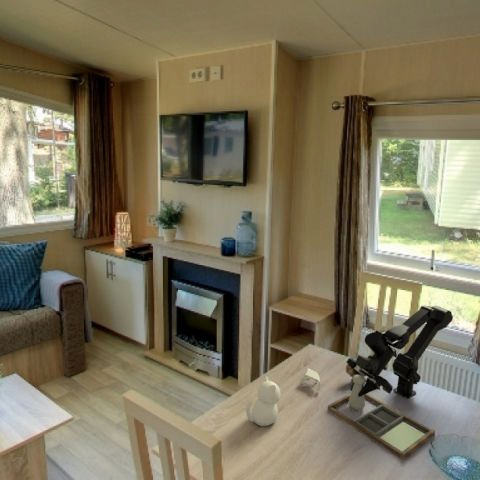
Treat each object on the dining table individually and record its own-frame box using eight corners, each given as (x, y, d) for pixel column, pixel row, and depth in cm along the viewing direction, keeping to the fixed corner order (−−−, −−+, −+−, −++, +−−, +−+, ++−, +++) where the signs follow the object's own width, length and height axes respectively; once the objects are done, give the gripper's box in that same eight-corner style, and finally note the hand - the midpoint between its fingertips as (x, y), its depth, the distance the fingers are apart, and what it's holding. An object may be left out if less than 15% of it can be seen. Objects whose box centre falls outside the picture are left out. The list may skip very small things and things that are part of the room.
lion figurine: (346, 387, 161) (348, 366, 159) (342, 379, 166) (343, 360, 164) (381, 385, 162) (383, 365, 160) (375, 378, 167) (378, 359, 166)
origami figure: (294, 382, 163) (295, 371, 162) (310, 376, 167) (310, 366, 166) (314, 397, 153) (315, 385, 152) (330, 391, 157) (331, 379, 156)
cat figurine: (284, 425, 136) (287, 385, 134) (251, 433, 131) (253, 392, 129) (271, 410, 145) (274, 372, 142) (240, 417, 139) (242, 378, 137)
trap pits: (381, 407, 148) (382, 404, 147) (403, 420, 141) (403, 416, 140) (353, 424, 138) (353, 420, 137) (375, 439, 131) (375, 435, 130)
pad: (402, 422, 139) (403, 421, 139) (426, 436, 133) (426, 435, 133) (379, 438, 131) (379, 437, 131) (403, 453, 125) (403, 452, 124)
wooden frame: (359, 393, 156) (359, 388, 156) (434, 435, 133) (435, 430, 133) (327, 410, 145) (327, 405, 145) (403, 460, 122) (404, 454, 121)
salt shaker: (365, 414, 143) (368, 382, 141) (348, 412, 144) (351, 379, 142) (363, 405, 149) (366, 373, 146) (347, 402, 150) (350, 371, 147)
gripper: (351, 337, 152) (327, 370, 149) (390, 359, 136) (363, 397, 133) (365, 352, 157) (341, 384, 154) (403, 375, 141) (378, 411, 138)
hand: (354, 393), depth 145 cm, fingers closed on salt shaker, 3 cm apart
